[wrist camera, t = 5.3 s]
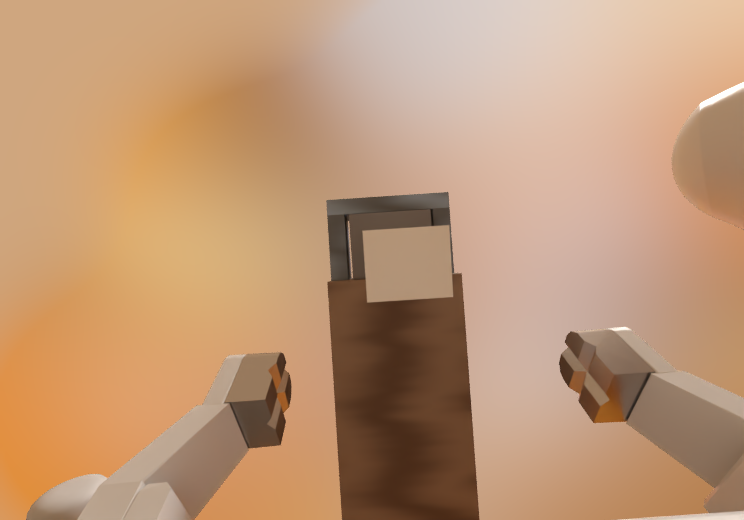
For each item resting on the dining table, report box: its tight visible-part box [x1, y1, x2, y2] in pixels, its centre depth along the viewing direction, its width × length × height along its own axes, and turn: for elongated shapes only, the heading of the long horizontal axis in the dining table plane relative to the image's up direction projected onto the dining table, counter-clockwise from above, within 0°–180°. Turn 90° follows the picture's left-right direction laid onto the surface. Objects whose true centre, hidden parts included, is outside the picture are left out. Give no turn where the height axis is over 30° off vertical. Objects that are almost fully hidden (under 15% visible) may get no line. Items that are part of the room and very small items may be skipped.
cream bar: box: [349, 209, 453, 303], centre depth 17 cm, size 5×13×4 cm, turn 0°
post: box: [327, 192, 479, 520], centre depth 21 cm, size 8×5×31 cm, turn 90°
